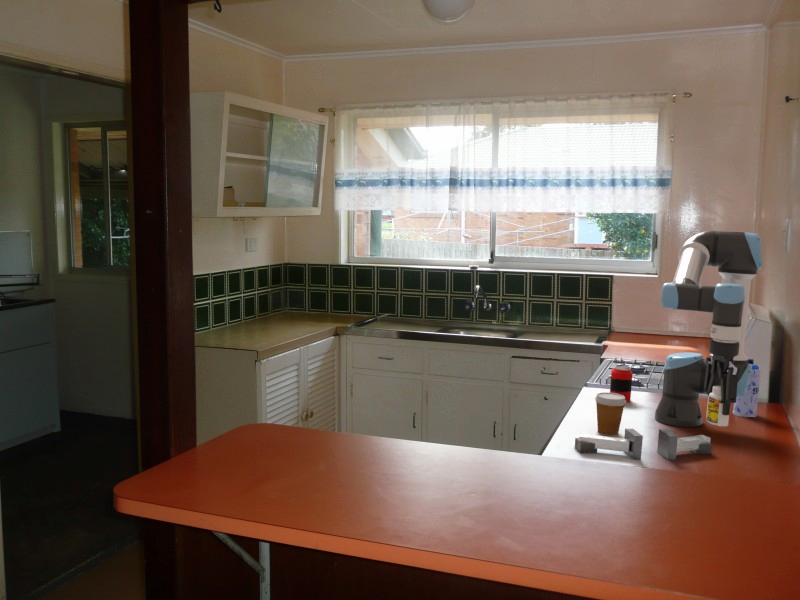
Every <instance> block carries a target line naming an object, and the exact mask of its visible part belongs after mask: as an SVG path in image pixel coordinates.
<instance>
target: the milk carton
mask: <svg viewBox="0 0 800 600" xmlns="http://www.w3.org/2000/svg"><path fill="white" fill-rule="evenodd" d="M748 363H749V364H751V365H752V370H751V374H750V378H749V382H748V386H747V390H746V393H745V395H744V397H742V398H736V403H733V410H732V414H733V415H734V416H738V417H741V418H748V417H754V418H756V417H757V411H758V410H757V409H758V399H759V392H760V391H759V389H760V383H761V382H760V381H761V372H762V371H761V368H760V367H759V365H757V364H756V363H755V360H754V358H753V359H752V358H748Z"/></svg>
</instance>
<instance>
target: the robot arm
mask: <svg viewBox="0 0 800 600" xmlns="http://www.w3.org/2000/svg"><path fill="white" fill-rule="evenodd" d="M762 257H763V253H762V238H761V236H760V235H759V234H758V233H755V232H746V231H723V230H722V231H721V230H720V231H719V230H706V231H702V232H698V233H696V234H695V235H692V236H690V237H689V238H687V239H686V241H684V242H683V243H682V245H681V246H680V247H679V250H678V255H677V258H678V265H677V268H676V270H675V273H674V277H673V279H672V282H665V283H663V285H662V287H661V288H662V289H661V293H660V305H661V307H663V308H665V309H672V310H676V311H677V310H681V311H691V312H692V311H693V312H704V313H712V319H711V328H710V329H709V330H710V338H711V339H710V340H709V348H708V352H709V353H710V354H709V356H707V357H706V358H704V356H703V354H702V353H699V352H698V353H697V352H691V351H689V352H688V351H687V352H676V353H671V354H669V355H667V356H666V358H665V362H664V363H665V364H664V366H663V370H664V371H663V372H664V373H663V380H662V381H663V382H662V395H661V398H660V400H659V403H658V405H657V407H656V408H655V413H654V419H655V420H656V421H658V422H659V423H661V424H666V425H669V426H674V427H684V428H693V427H699V426H702V424H703V414H702V411H701V407H700V402H699V398H700V394H701V395H702V394H703V395H707V401H708V400H709V394H710V393H712V390H713V386H721V400H722V401H719V412H718V423H717V425H716V426H718V427H729V422H730V413H731V412H730V411H731V404H734V403H736V398H742V397H744V395H745V393H746V390H747V386H748V382H749V378H750V374H751V370H752V365H751V364H749V363H748V359H749V357H747V356H746V354H745V353H744V351H745V342H746V334H747V332H746V330H747V324H748V323H747V321H748V315H749V314H748V311H749V301H750V293H751V292H750V291H751V283H752V280H753V279H754V278H755V277H756V276H757V274H758V271H760V270H761V271H762V270H763V258H762ZM705 267H717V269H718V270H717V273H718V274H719V276H721V283H720V282H718V283H717V284H715V286H713V285H701V281H702V277H703V273H704V268H705ZM706 406H707V407H706V411H707V410H708V402H707V404H706ZM705 415H706V417H705V419H706V420H707V412H706V414H705Z"/></svg>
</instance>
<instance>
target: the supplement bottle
mask: <svg viewBox="0 0 800 600" xmlns="http://www.w3.org/2000/svg"><path fill="white" fill-rule="evenodd" d="M719 401H722V400H721V386H713V390H712V393H710V394H709V400H708V399H707V403H708V410H707V409H706V413H707V419H706V422H707V423H708V424H710V425H714V426H718V425H717V423H718V412H719Z"/></svg>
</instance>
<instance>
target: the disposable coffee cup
mask: <svg viewBox="0 0 800 600" xmlns="http://www.w3.org/2000/svg"><path fill="white" fill-rule="evenodd" d="M594 399H595V403H596V419H597V420H596V421H597V433H599V434H601V435H602V436H604V435H605V436H610V437H613V436H617V435H618V434H619V433H620V426H621V422H622V419H623V418H622V417H623V412H624V408H625V405H626V403H627V402H626V400H625V397H624V396H623V395H620V394H616V393H610V392H604V391H603V392H598V393H596V397H594Z"/></svg>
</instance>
